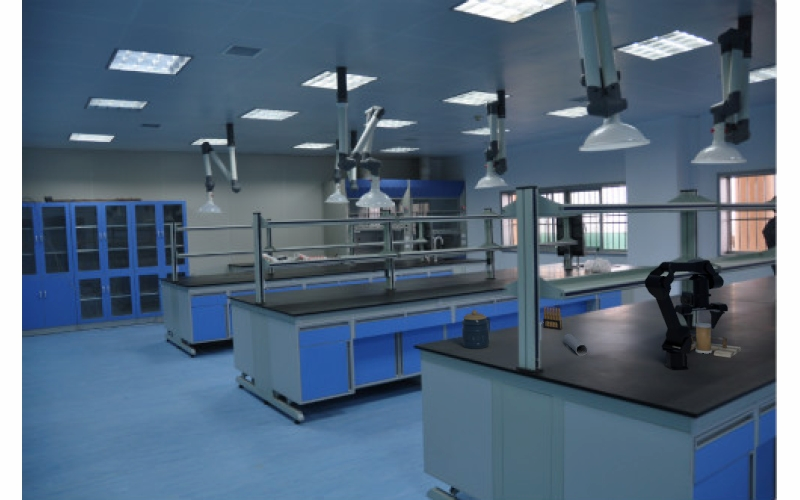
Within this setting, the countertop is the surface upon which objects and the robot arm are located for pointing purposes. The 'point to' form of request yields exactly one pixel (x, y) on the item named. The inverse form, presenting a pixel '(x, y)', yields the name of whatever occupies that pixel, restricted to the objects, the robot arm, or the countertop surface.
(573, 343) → the tube
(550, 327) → the ammunition clip
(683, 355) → the robot arm
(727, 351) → the grey piece
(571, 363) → the countertop surface
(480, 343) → the canister
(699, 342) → the lidded paper cup
